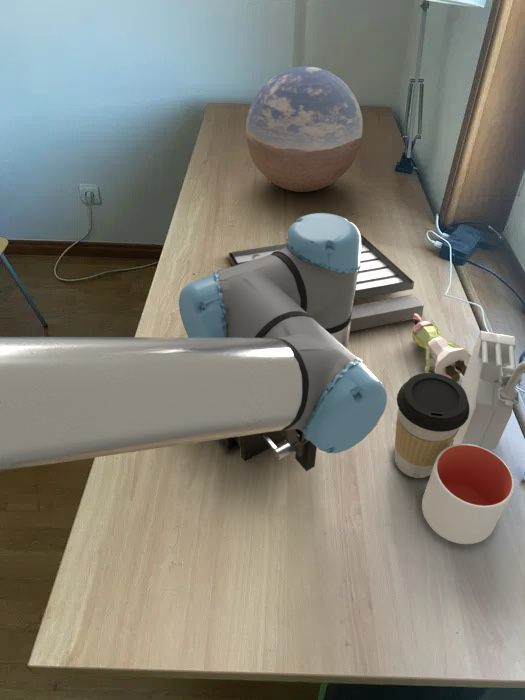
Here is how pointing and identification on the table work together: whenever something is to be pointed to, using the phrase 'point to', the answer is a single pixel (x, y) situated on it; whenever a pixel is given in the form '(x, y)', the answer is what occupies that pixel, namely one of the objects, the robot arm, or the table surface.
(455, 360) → the figurine
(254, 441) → the drawer
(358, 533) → the table surface
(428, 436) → the coffee cup
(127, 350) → the robot arm
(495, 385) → the jerry can
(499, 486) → the cup
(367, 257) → the shutter
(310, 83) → the sphere
